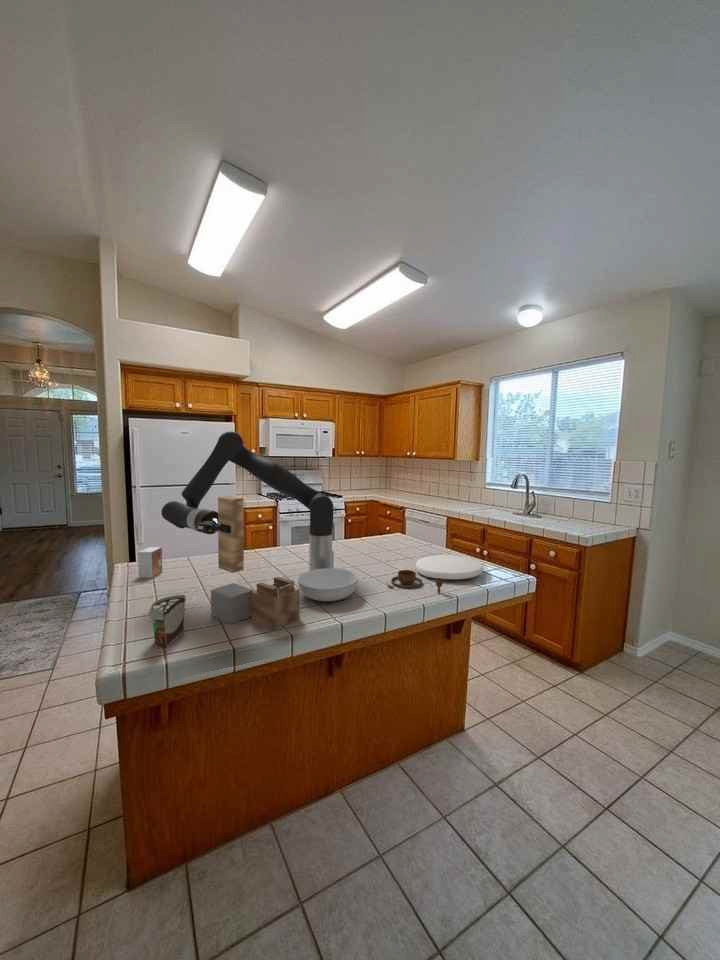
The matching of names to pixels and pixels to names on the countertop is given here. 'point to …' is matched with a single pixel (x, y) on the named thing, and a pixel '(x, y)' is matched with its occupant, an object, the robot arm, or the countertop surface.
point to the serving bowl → (327, 584)
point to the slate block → (231, 603)
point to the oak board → (231, 534)
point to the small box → (150, 562)
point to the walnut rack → (275, 603)
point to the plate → (449, 567)
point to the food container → (168, 619)
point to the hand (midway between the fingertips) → (236, 528)
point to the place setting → (411, 580)
